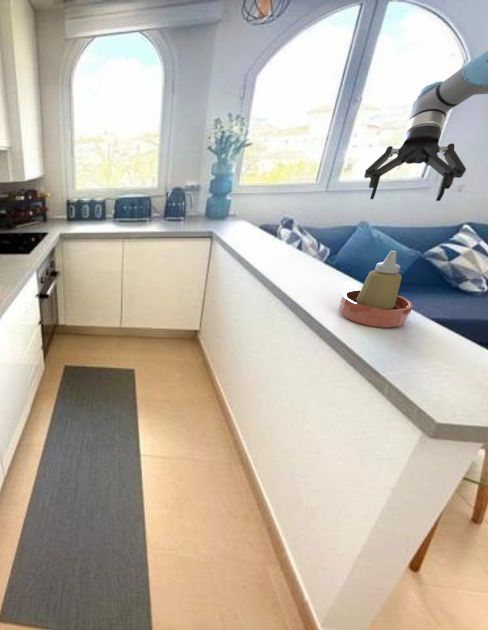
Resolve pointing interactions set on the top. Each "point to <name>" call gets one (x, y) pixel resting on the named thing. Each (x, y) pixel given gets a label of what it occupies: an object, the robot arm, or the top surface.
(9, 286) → the top surface
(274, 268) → the top surface
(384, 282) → the squeeze bottle
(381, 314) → the bowl
